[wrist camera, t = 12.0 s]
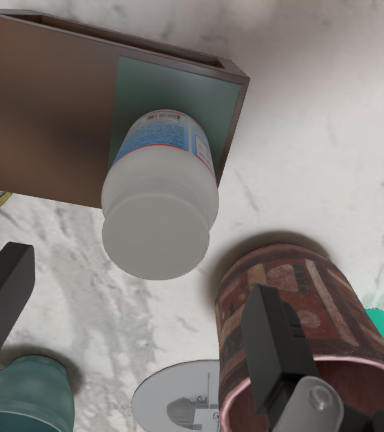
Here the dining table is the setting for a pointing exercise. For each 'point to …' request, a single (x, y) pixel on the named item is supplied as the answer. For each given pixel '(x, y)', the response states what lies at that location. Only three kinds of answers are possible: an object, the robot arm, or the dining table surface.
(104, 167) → the stand
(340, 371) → the pottery
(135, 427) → the dining table surface
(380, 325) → the candle
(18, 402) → the flower pot
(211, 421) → the plate
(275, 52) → the dining table surface
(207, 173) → the pill bottle
